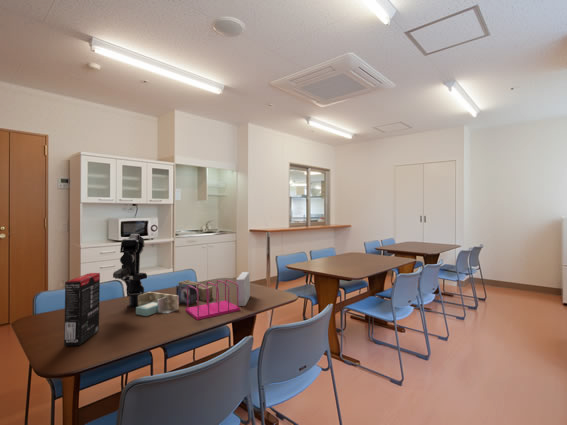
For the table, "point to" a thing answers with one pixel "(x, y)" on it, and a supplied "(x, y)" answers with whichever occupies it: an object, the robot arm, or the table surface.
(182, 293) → the small box
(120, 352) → the table surface
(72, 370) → the table surface
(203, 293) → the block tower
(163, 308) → the bookend
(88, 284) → the graphics card box
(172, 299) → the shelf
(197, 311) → the file sorter
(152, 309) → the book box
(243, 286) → the skincare box
